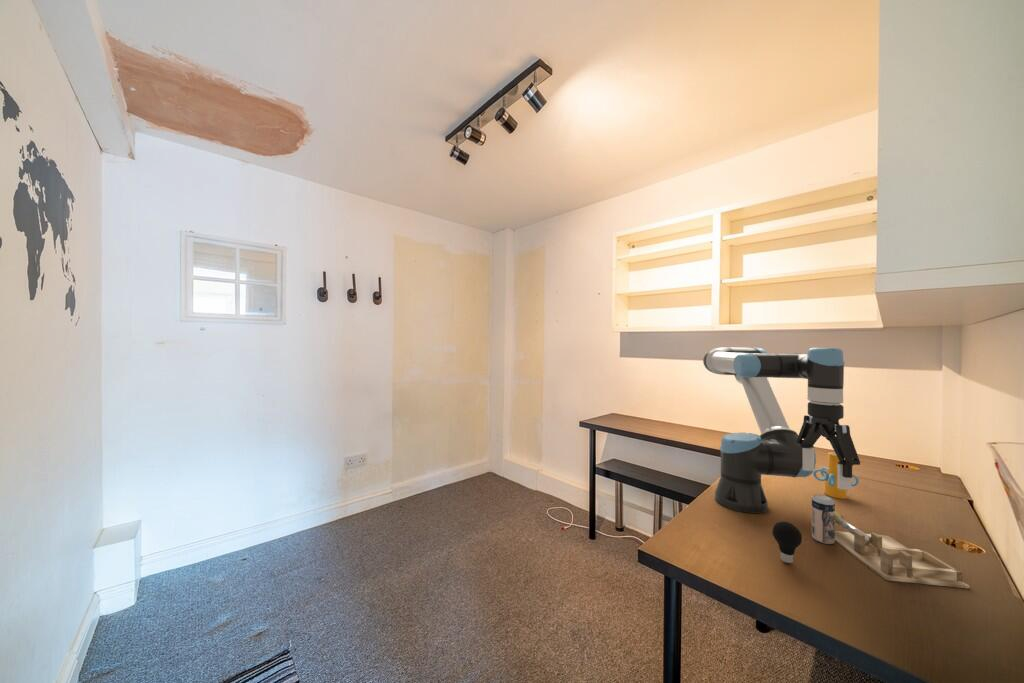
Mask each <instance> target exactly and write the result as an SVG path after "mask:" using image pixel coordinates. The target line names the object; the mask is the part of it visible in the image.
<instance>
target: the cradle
mask: <svg viewBox="0 0 1024 683" xmlns="http://www.w3.org/2000/svg"><path fill="white" fill-rule="evenodd" d="M866 534H867V535H868V536H870V537H871V538H872V543H870V544H866V543H865V536H864V535H863V534H861V533H860V532H857V531H854V535H853V534H851V533H850V532H849V531H837V530H835V543H837V544H838V545H839V546H840V547H842V548H843V549H845V550H846V551H847V552H848V553H849V554H851V555H853V556H854V557H855V558H856V559H858V560H859V561H860V562H862V563H863V564H864V565H866V566H867V567H869V569H871V570H872V571H873V572H875V573H876V574H877V575H879V576H880V577H881V578H883V579H884V580H886V581H891V582H901V583H910V584H911V583H913V584H921V585H922V584H923V585H931V586H940V587H941V586H942V587H950V588H960V589H970V585H969V584H967V583H965V582H964V581H963V572H962V571H960V570H958V569H957V568H955V567H953V566H952V565H950V564H948V563H947V562H945V561H943V560H942V559H939V558H938V557H937V556H935V555H934V554H931V553H929V552H928V551H926V550H925V549H918V548H908V547H906V546H905V545H903V544H902V543H900V542H898V541H897V540H895V539H894V538H892V537H891V536H888V535H884V534H878V533H877V532H870V533H866Z"/></svg>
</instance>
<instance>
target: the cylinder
mask: <svg viewBox="0 0 1024 683" xmlns="http://www.w3.org/2000/svg"><path fill="white" fill-rule="evenodd" d="M838 462H839V459H838V457H837V455H836V453H835V452H834V451H833V452H827V467H825V466H824V467H821V468H817V469H814V471H813V473H812V474H813V475H812V476H813V478H814V479H816V480H817V481H821V482H824V484H823V485H824V489H823V490H824V495H825V496H828V497H830V498H834V499H839V500H840V499H841V500H842V499H843V500H845V499H847V498H848V489H839V488H837V463H838ZM818 472H820V475H821V476H822V478H820V477H818V476H817V473H818ZM852 478H853V479H854V480H855V482H854V483H853V481H852V480H851V487H855V486H857V485H859V484H860V480H859V477H858V476H856V475H855V474H853V473H852Z"/></svg>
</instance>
